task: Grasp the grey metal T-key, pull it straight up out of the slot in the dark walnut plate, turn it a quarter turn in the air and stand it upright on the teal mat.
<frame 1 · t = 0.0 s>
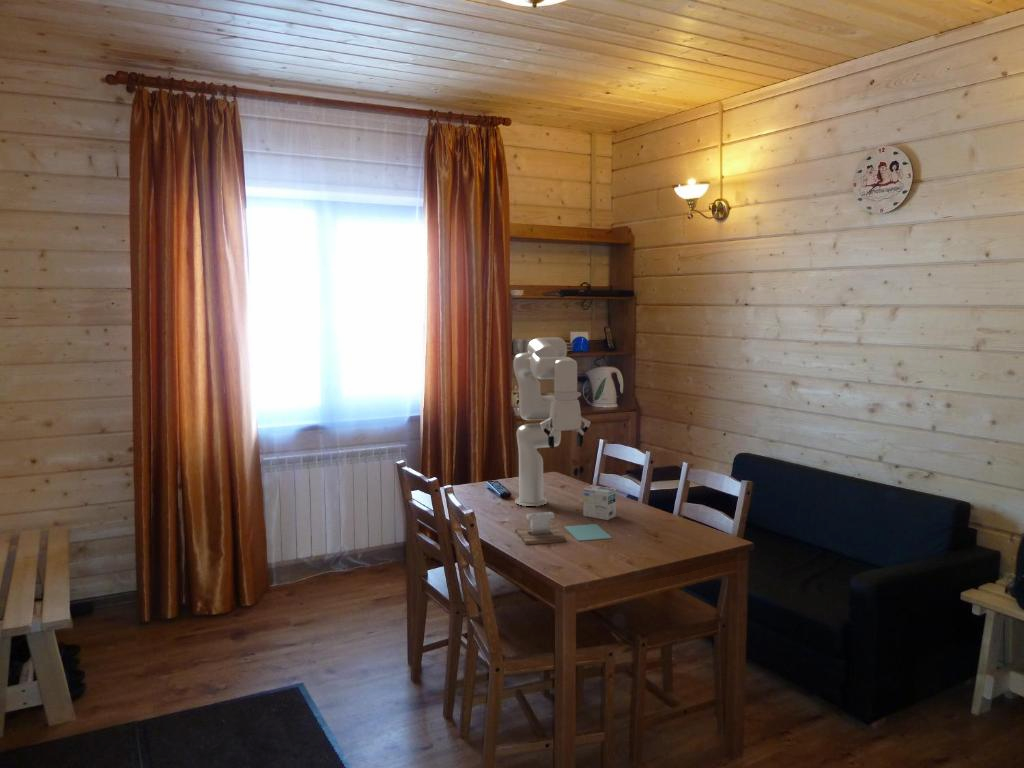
hand: (565, 447, 255), 31 cm above the table, tool pointing down, fingers open, 9 cm apart
light bulb box: (599, 516, 284), on the table
teal mat: (587, 532, 264), on the table
walnut slot plate: (540, 536, 260), on the table
metal T-key: (540, 525, 259), in the walnut slot plate
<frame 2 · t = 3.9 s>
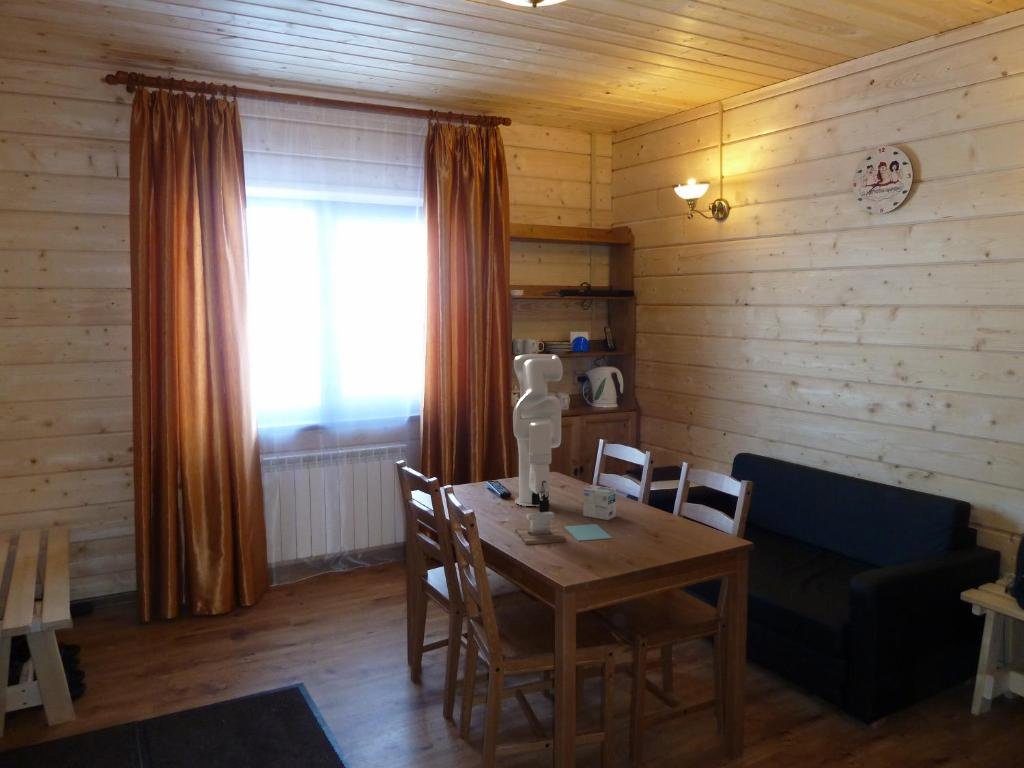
hand: (540, 508, 258), 10 cm above the table, tool pointing down, fingers open, 9 cm apart
nothing on the table moved.
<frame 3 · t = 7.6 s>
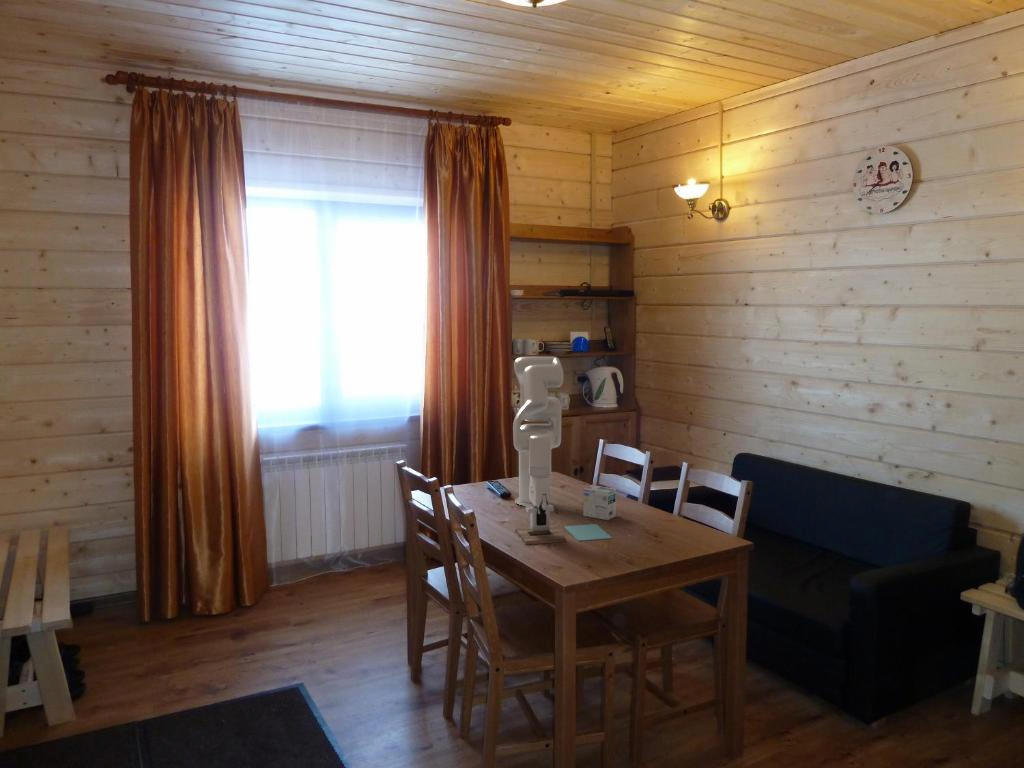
hand: (540, 523, 260), 5 cm above the table, tool pointing down, fingers closed on metal T-key, 3 cm apart
metal T-key: (539, 518, 260), point 6 cm above the table, touching gripper
everything else where it was.
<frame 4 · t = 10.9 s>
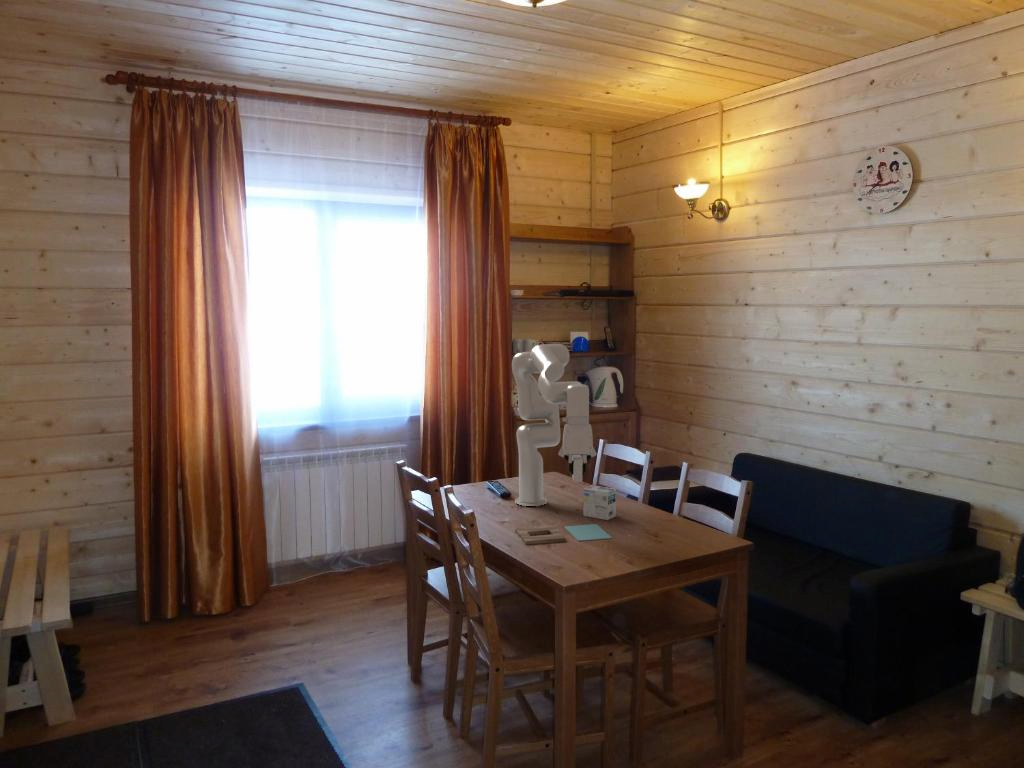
hand: (577, 473, 261), 21 cm above the table, tool pointing down, fingers closed on metal T-key, 3 cm apart
metal T-key: (577, 468, 260), point 23 cm above the table, touching gripper
everything else where it was.
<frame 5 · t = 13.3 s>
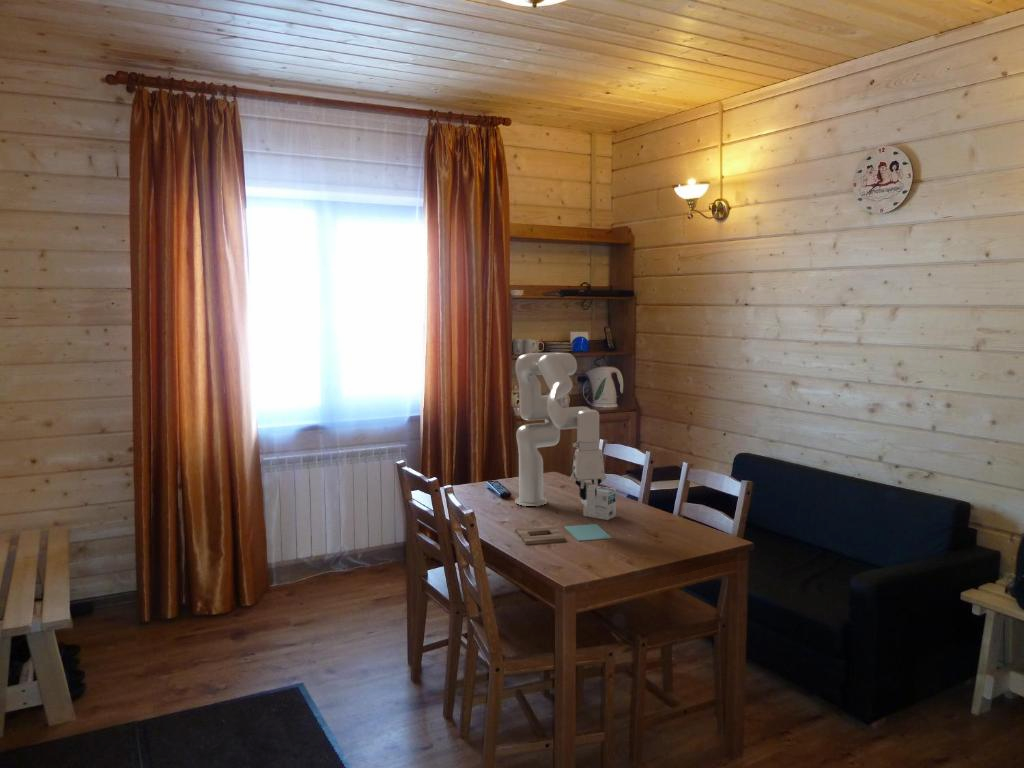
hand: (588, 498, 262), 12 cm above the table, tool pointing down, fingers closed on metal T-key, 3 cm apart
metal T-key: (588, 493, 262), point 14 cm above the table, touching gripper
everything else where it was.
when the fingers open (4 cm above the table, at t = 15.4 s): metal T-key drops 2 cm, resting on teal mat.
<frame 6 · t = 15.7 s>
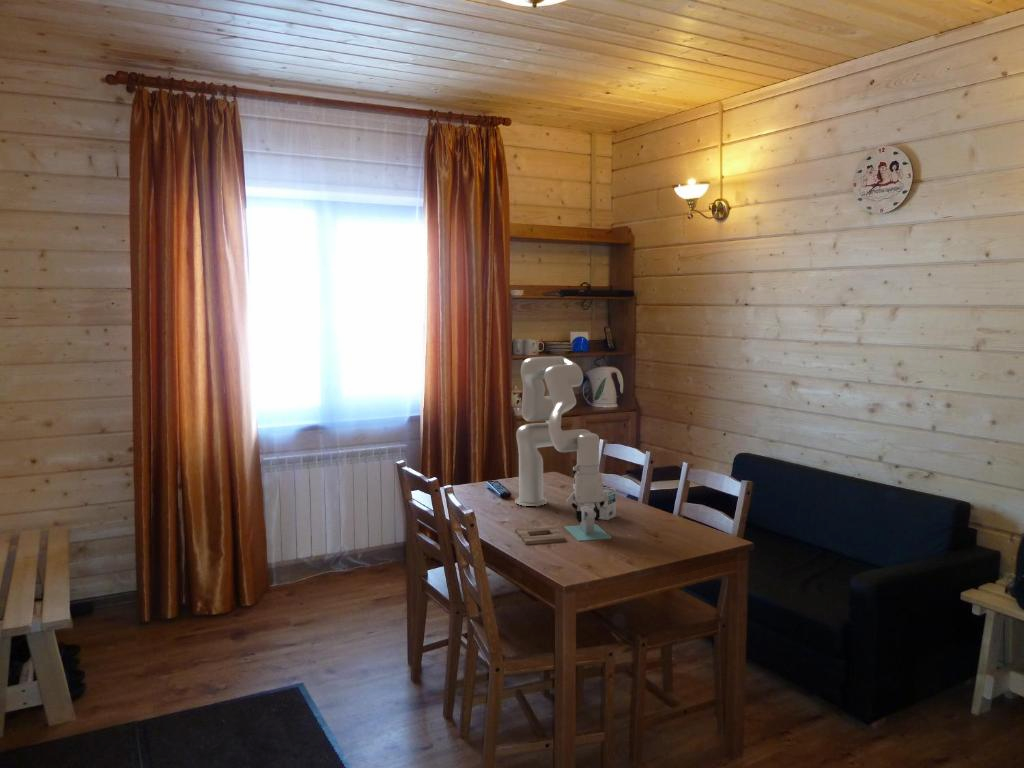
hand: (587, 520, 263), 4 cm above the table, tool pointing down, fingers open, 5 cm apart
metal T-key: (587, 520, 263), resting on teal mat
everything else where it was.
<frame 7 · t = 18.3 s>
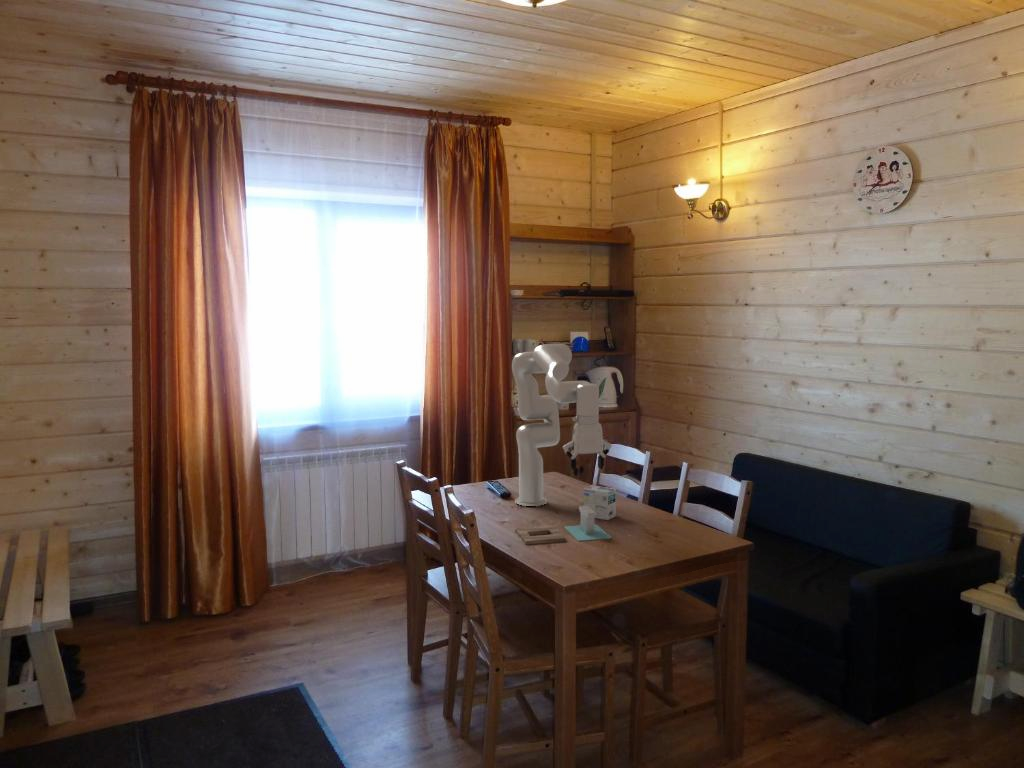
hand: (587, 469, 262), 22 cm above the table, tool pointing down, fingers open, 9 cm apart
nothing on the table moved.
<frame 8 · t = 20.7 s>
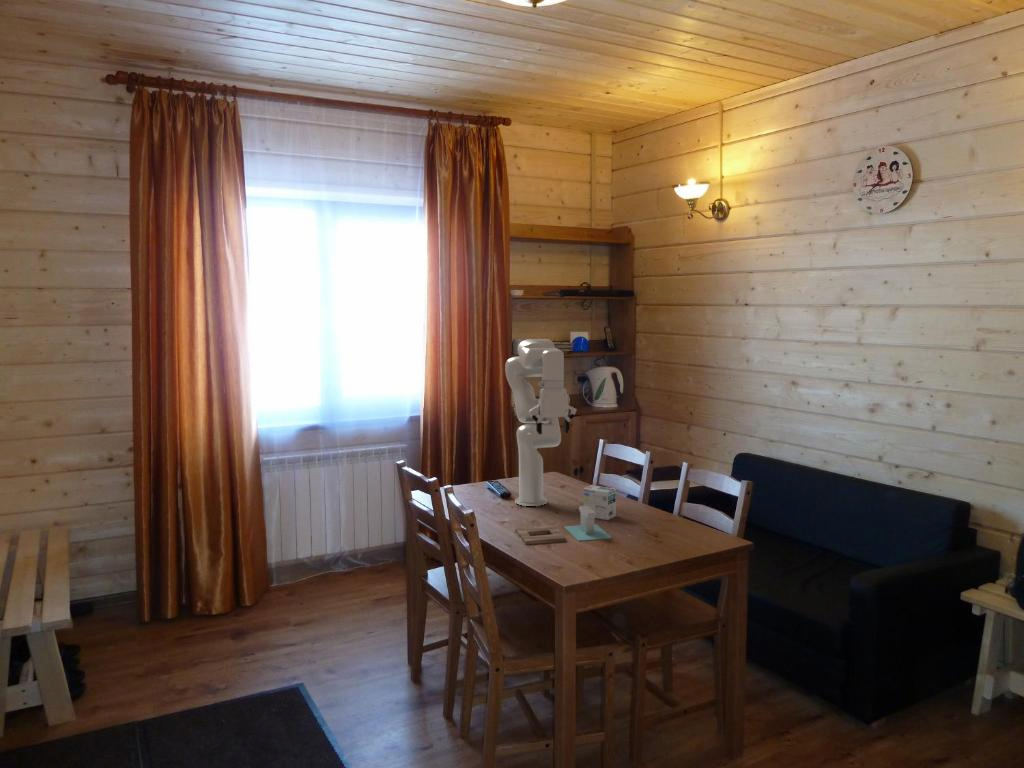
hand: (552, 433, 270), 33 cm above the table, tool pointing down, fingers open, 9 cm apart
nothing on the table moved.
at the end: metal T-key inside the target area on the teal mat (0.0 cm from its centre), point 4.3 cm above the teal mat's base; metal T-key tilted 0°; the gripper is holding nothing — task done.
